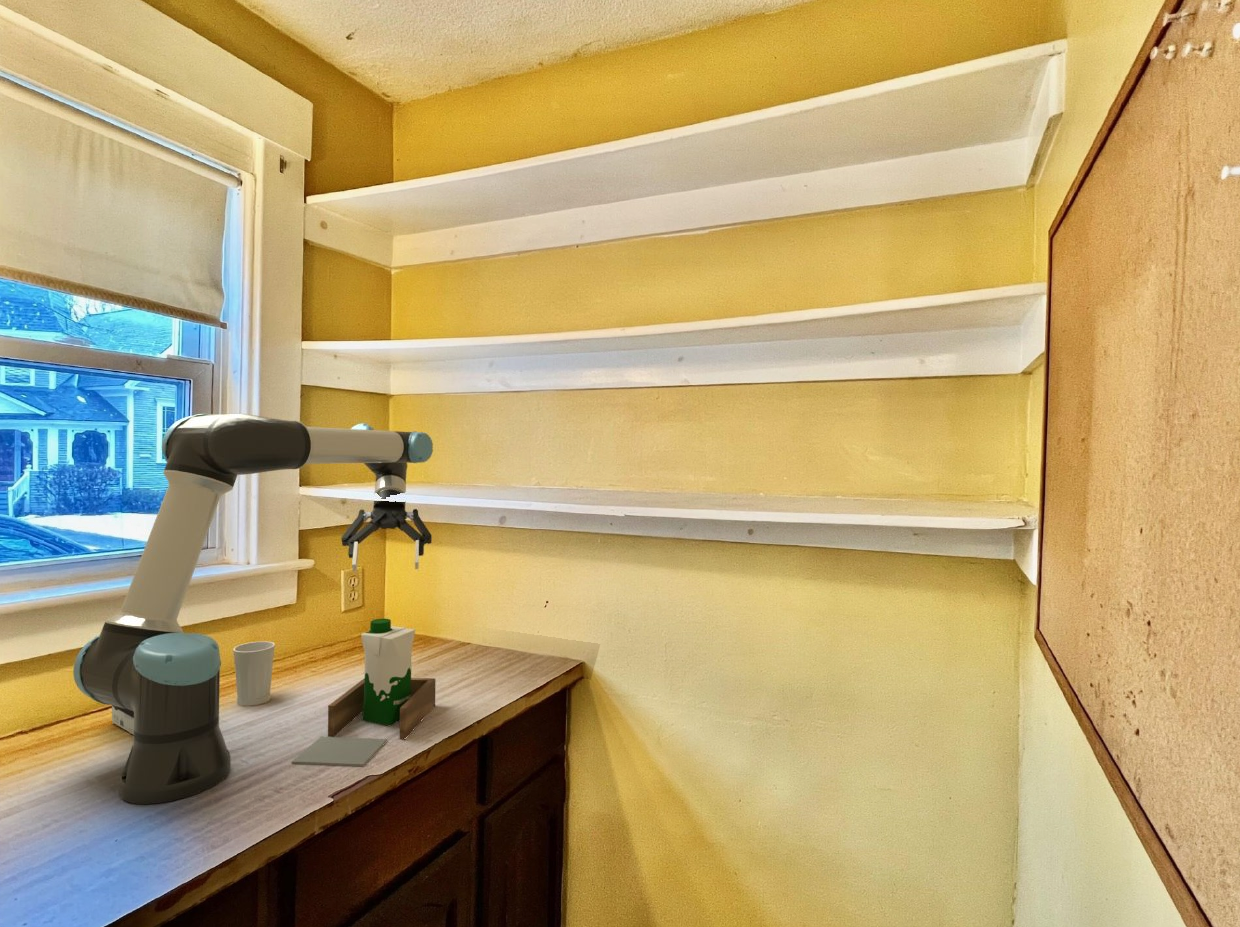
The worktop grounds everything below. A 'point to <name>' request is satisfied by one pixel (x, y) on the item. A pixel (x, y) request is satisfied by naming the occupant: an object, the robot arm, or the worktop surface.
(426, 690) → the wooden tray
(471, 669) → the worktop surface
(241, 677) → the cup
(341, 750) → the mat
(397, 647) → the soya milk
